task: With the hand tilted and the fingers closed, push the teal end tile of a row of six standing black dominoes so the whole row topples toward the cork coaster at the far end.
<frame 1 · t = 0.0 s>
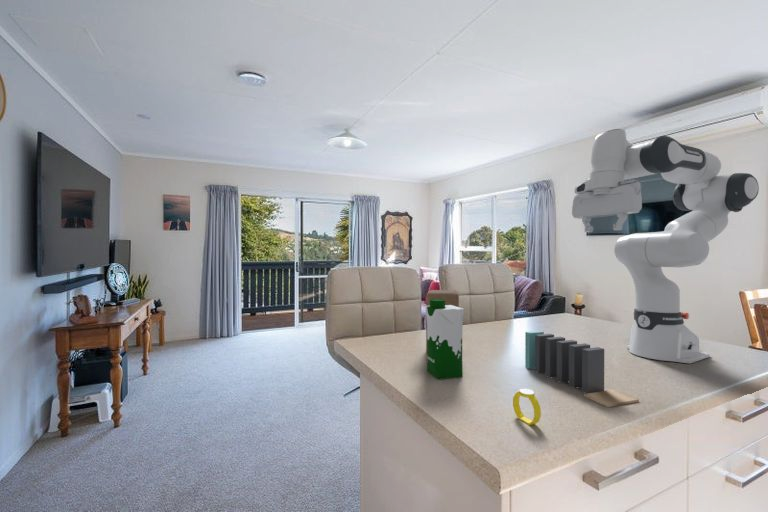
hand: (602, 231, 105), 39 cm above the worktop, tool pointing down, fingers open, 8 cm apart
domino 6: (593, 391, 83), on the worktop
domino 3: (555, 375, 94), on the worktop
watch: (526, 422, 69), on the worktop
domino 5: (579, 385, 87), on the worktop
domino 1: (534, 367, 101), on the worktop
block: (442, 353, 116), on the worktop
coaster: (610, 398, 79), on the worktop
milk carton: (444, 374, 96), on the worktop
domino 2: (544, 371, 98), on the worktop
domino 4: (566, 380, 91), on the worktop
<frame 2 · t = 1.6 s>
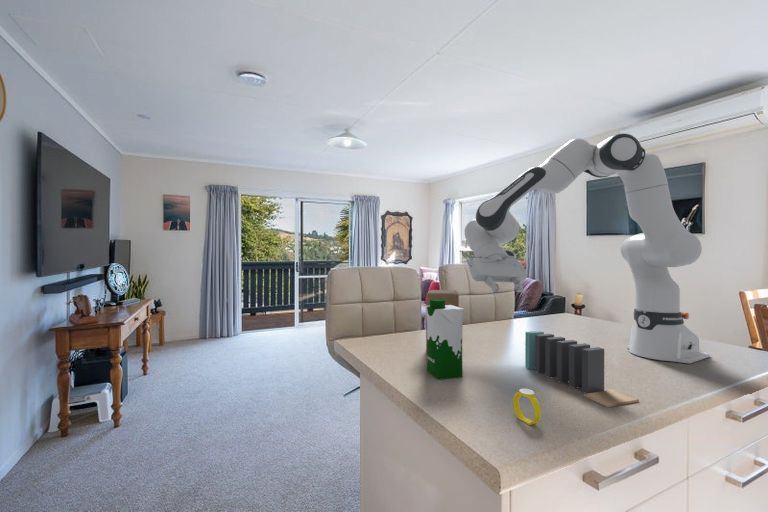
hand: (508, 290, 112), 21 cm above the worktop, tool tilted 45°, fingers open, 8 cm apart
nothing on the worktop moved.
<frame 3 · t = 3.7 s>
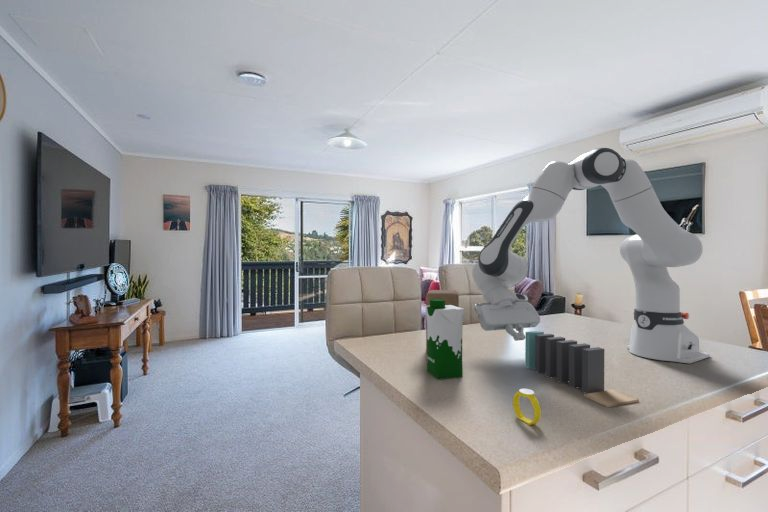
hand: (520, 339, 107), 7 cm above the worktop, tool tilted 45°, fingers closed
nothing on the worktop moved.
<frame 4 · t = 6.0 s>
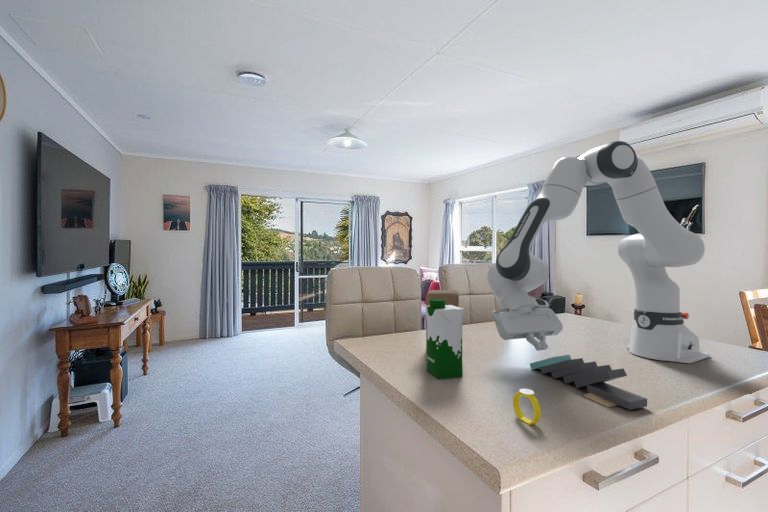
hand: (542, 349, 98), 6 cm above the worktop, tool tilted 45°, fingers closed
domino 6: (595, 386, 83), point 1 cm above the worktop, tilted 90°, touching coaster, domino 5
domino 3: (559, 374, 93), point 1 cm above the worktop, tilted 61°, touching domino 2, domino 4
domino 5: (583, 383, 86), point 1 cm above the worktop, tilted 59°, touching domino 4, domino 6
domino 1: (537, 365, 100), point 1 cm above the worktop, tilted 64°, touching domino 2
domino 2: (548, 370, 97), point 1 cm above the worktop, tilted 62°, touching domino 1, domino 3
domino 4: (571, 379, 89), point 1 cm above the worktop, tilted 59°, touching domino 3, domino 5
everything else where it was.
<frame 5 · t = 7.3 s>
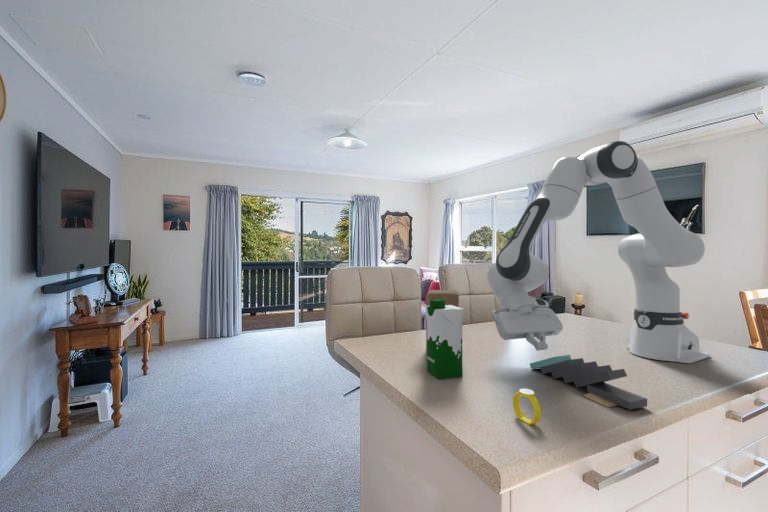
hand: (542, 349, 98), 6 cm above the worktop, tool tilted 45°, fingers closed
nothing on the worktop moved.
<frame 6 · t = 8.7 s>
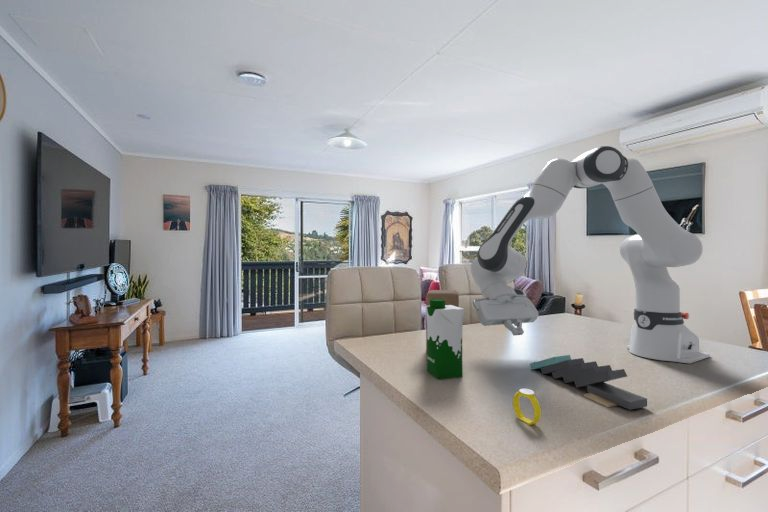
hand: (519, 334, 107), 8 cm above the worktop, tool tilted 45°, fingers closed
nothing on the worktop moved.
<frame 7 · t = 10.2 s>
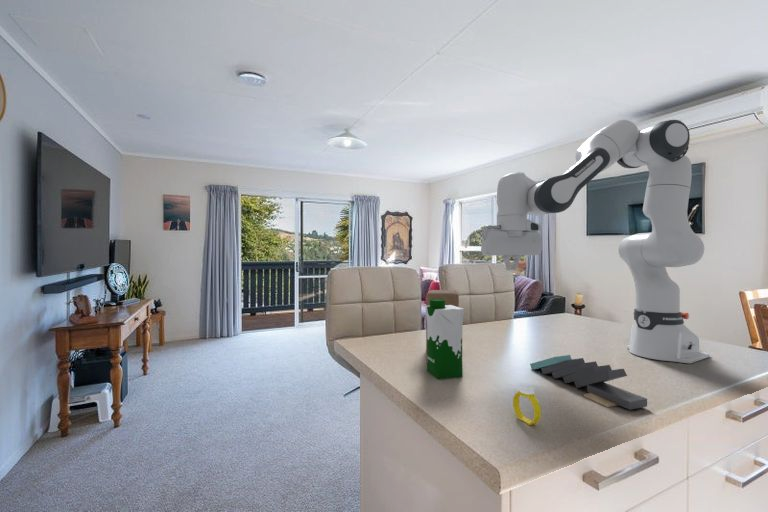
hand: (511, 270, 111), 27 cm above the worktop, tool pointing down, fingers closed
nothing on the worktop moved.
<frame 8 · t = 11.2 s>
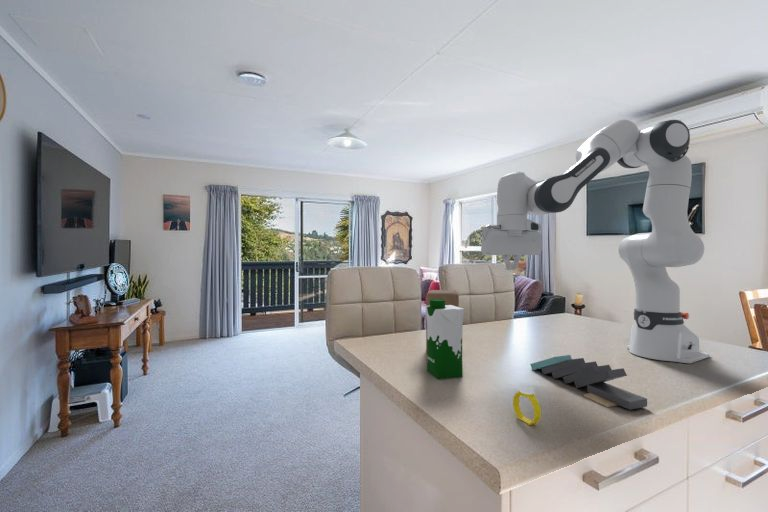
hand: (511, 270, 111), 27 cm above the worktop, tool pointing down, fingers closed
domino 4: (571, 379, 89), point 1 cm above the worktop, tilted 59°, touching domino 3, domino 5
everything else where it was.
at the end: domino 6 tilted 90°; domino 3 tilted 61°; domino 1 tilted 63° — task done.
